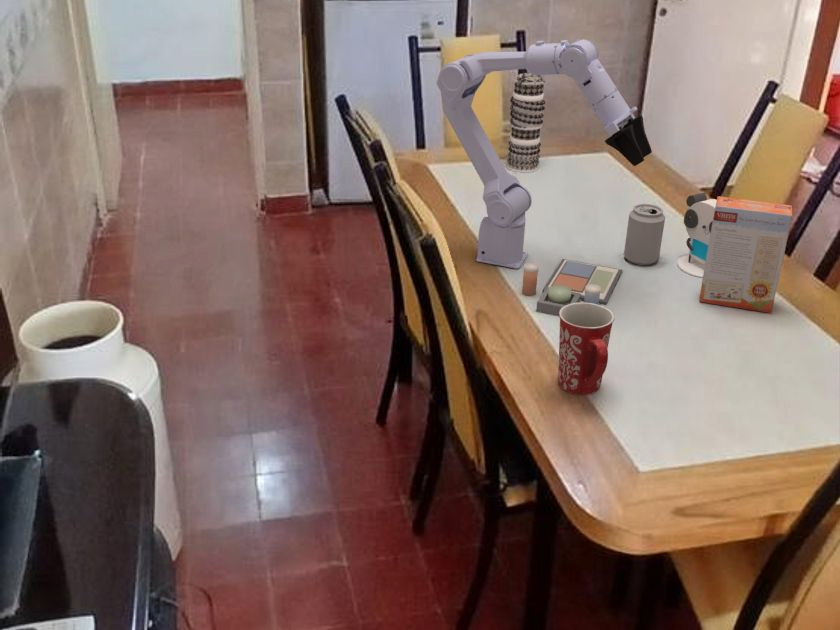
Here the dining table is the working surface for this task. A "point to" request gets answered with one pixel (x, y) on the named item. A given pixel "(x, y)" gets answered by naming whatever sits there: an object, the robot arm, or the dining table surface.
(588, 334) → the mug
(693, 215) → the panda figurine
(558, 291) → the button
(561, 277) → the colour zone board
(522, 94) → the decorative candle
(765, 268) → the cracker box
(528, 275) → the terracotta marker
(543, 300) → the button collar
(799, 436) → the dining table surface
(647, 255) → the can
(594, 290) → the slate blue marker
